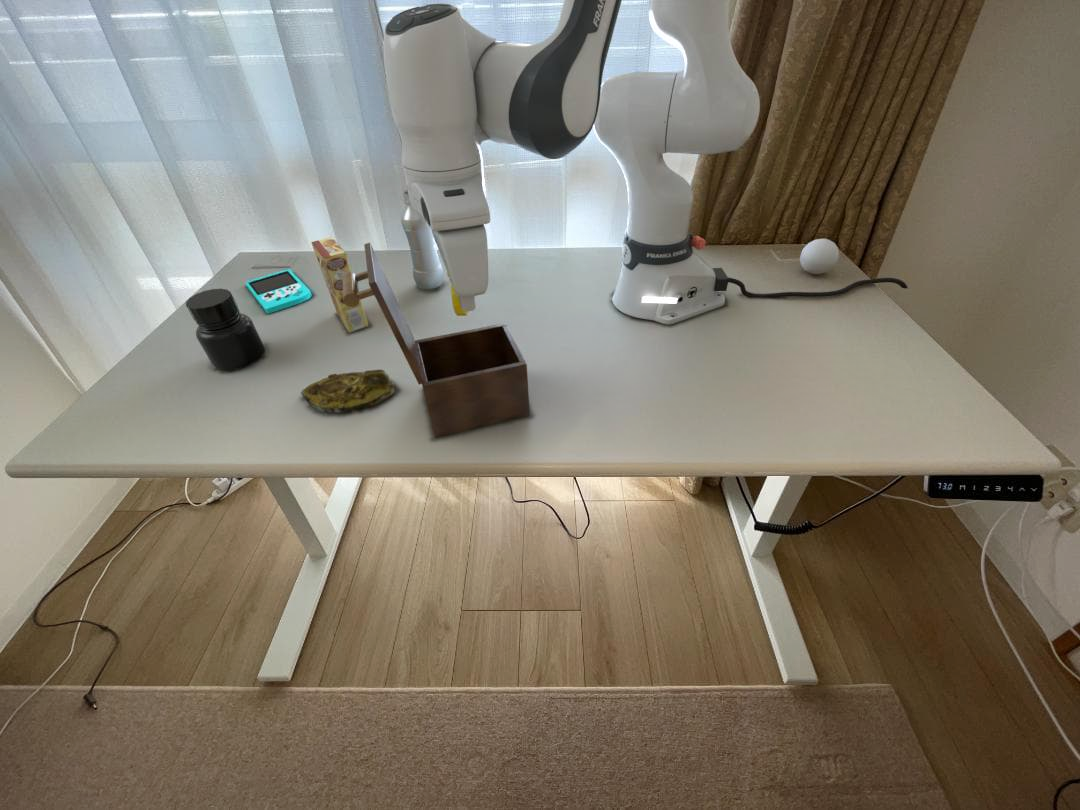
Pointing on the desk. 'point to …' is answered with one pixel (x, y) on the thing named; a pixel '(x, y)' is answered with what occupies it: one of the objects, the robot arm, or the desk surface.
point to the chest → (473, 379)
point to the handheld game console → (278, 290)
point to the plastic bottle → (421, 248)
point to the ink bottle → (224, 330)
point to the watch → (456, 303)
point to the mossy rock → (349, 391)
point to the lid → (383, 306)
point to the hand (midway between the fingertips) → (462, 295)
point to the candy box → (338, 281)
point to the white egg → (819, 256)
